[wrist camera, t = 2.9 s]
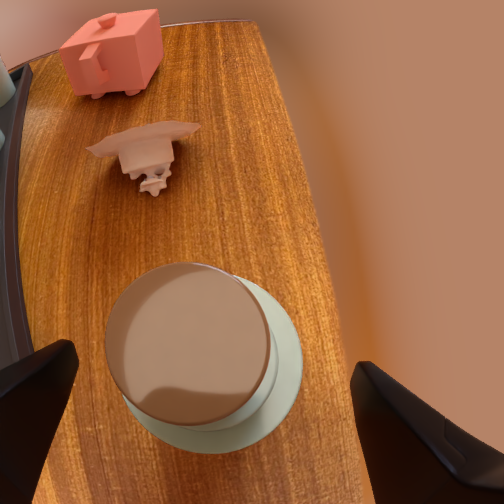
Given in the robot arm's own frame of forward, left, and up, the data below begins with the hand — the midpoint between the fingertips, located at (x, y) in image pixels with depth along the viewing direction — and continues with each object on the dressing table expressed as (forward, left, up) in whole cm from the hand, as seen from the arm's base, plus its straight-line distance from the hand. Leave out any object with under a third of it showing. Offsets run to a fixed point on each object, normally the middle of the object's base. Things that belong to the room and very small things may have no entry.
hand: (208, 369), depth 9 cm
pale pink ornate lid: (+13, +8, -8) cm, 17 cm away
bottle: (0, 0, -8) cm, 8 cm away
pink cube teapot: (+25, +16, -8) cm, 31 cm away
